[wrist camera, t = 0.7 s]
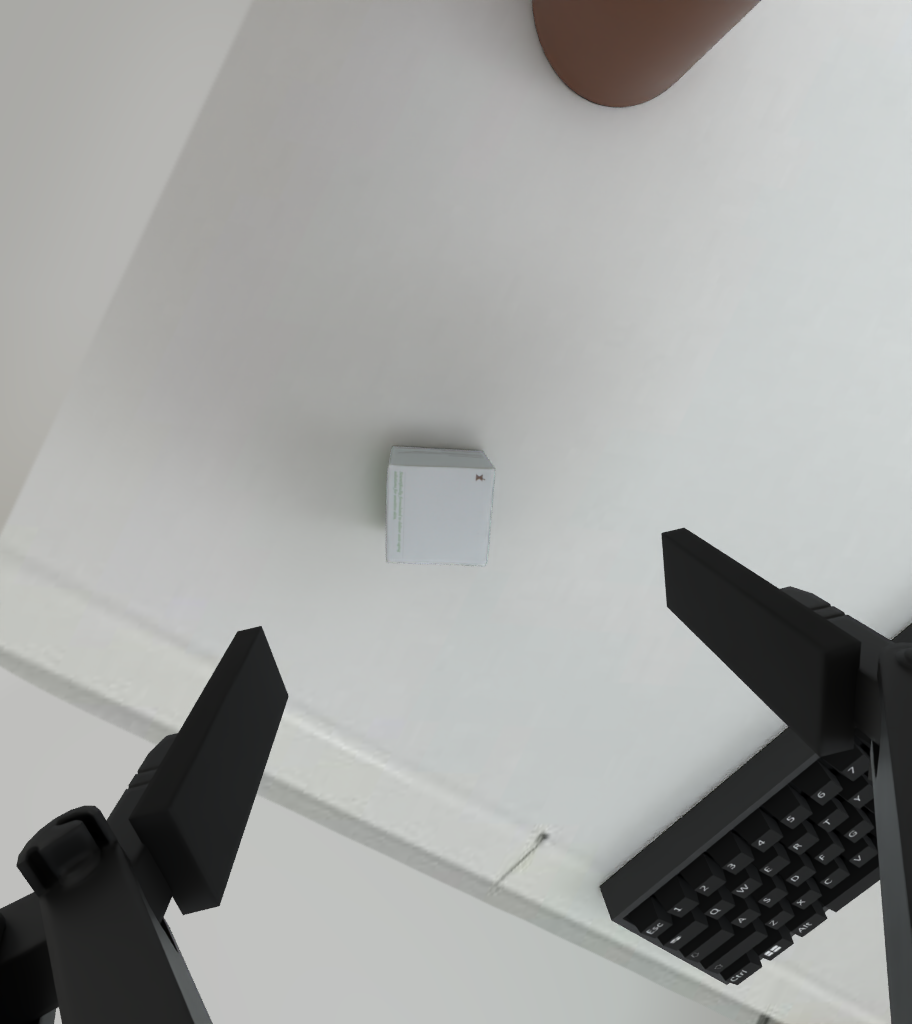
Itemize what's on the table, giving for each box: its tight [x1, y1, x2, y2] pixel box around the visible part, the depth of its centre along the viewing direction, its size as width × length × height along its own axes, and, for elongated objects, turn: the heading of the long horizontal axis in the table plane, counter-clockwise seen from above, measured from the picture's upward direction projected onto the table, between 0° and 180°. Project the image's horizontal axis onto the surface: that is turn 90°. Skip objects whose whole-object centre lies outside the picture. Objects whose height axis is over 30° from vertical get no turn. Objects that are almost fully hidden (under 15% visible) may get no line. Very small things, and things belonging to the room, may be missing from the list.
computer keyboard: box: [600, 624, 912, 985], centre depth 40 cm, size 45×16×4 cm, turn 139°
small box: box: [386, 446, 495, 566], centre depth 28 cm, size 6×6×5 cm
